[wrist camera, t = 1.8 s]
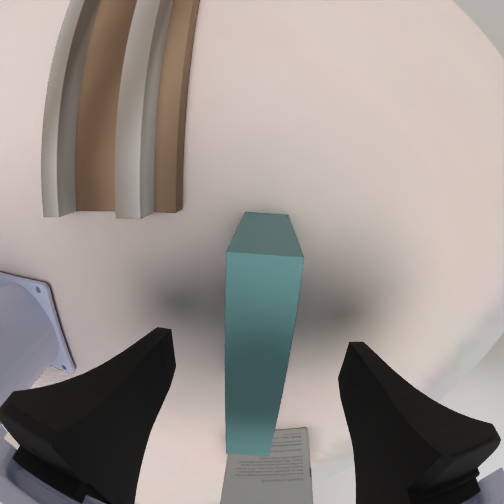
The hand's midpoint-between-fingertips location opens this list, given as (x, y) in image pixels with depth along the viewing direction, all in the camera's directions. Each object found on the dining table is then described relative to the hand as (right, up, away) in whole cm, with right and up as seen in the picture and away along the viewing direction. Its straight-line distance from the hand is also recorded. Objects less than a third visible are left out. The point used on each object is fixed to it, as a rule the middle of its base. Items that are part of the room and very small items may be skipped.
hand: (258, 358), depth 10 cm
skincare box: (+1, -12, +8) cm, 15 cm away
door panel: (0, +1, +4) cm, 4 cm away
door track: (-7, +15, 0) cm, 17 cm away
